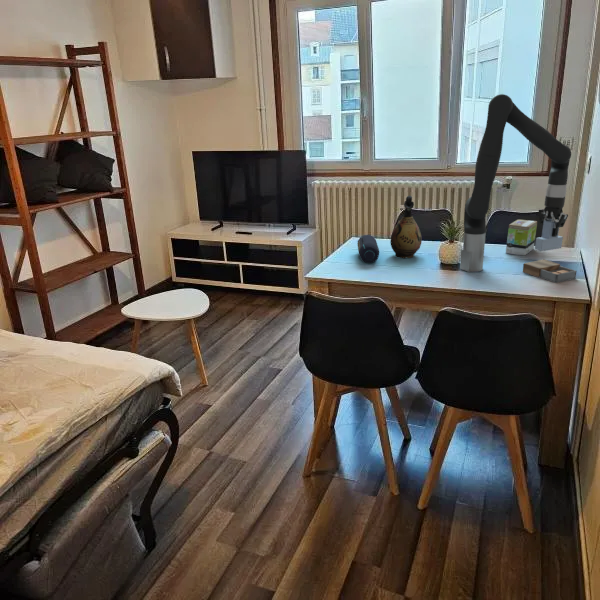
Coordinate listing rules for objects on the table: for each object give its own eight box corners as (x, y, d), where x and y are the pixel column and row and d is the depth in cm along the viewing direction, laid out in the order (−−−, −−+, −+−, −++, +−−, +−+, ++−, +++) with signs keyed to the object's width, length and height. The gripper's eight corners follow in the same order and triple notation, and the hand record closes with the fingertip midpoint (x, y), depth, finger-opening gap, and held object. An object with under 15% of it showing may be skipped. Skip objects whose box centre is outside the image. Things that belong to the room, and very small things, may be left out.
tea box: (525, 256, 259) (529, 226, 254) (505, 253, 265) (507, 224, 260) (534, 248, 270) (537, 220, 265) (514, 246, 276) (517, 218, 271)
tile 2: (556, 271, 227) (555, 275, 228) (564, 273, 224) (563, 278, 224) (563, 269, 229) (562, 274, 229) (571, 272, 225) (570, 276, 226)
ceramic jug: (421, 260, 260) (424, 199, 250) (390, 260, 263) (391, 199, 252) (420, 251, 276) (422, 193, 265) (390, 251, 278) (391, 193, 268)
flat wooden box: (538, 277, 229) (539, 268, 227) (522, 271, 236) (523, 263, 235) (559, 273, 233) (560, 264, 231) (543, 267, 241) (544, 259, 239)
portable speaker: (357, 251, 281) (357, 233, 277) (376, 251, 280) (376, 232, 276) (359, 265, 257) (359, 245, 254) (379, 264, 256) (380, 244, 253)
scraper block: (541, 251, 225) (545, 223, 220) (534, 249, 228) (538, 221, 224) (561, 248, 229) (565, 220, 224) (553, 246, 232) (557, 219, 228)
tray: (556, 282, 221) (557, 274, 220) (540, 277, 228) (541, 269, 227) (575, 278, 225) (576, 270, 224) (559, 273, 232) (560, 265, 231)
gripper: (535, 193, 225) (530, 232, 231) (562, 198, 213) (556, 240, 219) (548, 192, 228) (543, 231, 234) (576, 196, 215) (569, 237, 221)
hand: (549, 235), depth 226 cm, fingers closed on scraper block, 4 cm apart
